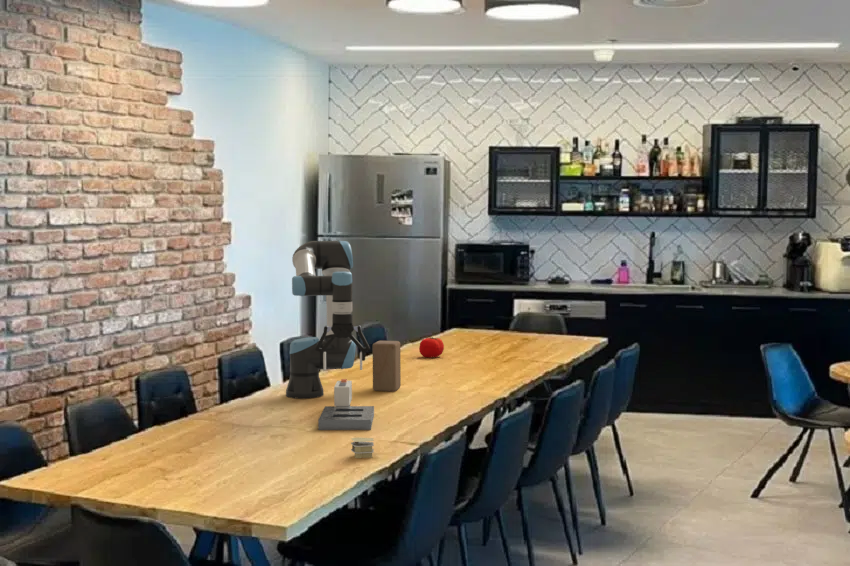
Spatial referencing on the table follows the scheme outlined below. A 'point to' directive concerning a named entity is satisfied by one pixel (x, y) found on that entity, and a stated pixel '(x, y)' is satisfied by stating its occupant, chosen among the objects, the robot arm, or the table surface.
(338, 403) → the light grey box
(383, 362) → the wooden block
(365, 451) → the building
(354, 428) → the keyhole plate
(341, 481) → the table surface
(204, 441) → the table surface
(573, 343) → the table surface
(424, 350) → the tomato
